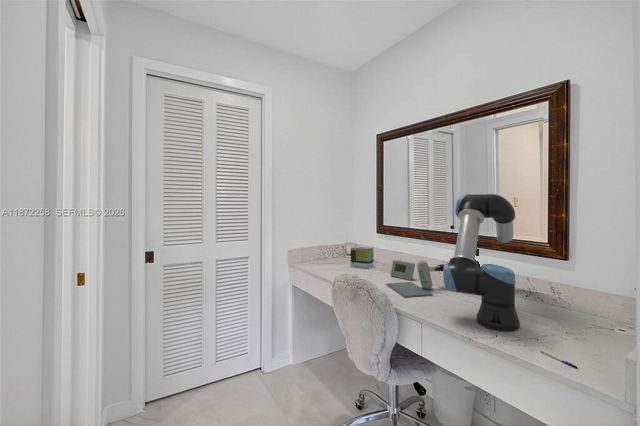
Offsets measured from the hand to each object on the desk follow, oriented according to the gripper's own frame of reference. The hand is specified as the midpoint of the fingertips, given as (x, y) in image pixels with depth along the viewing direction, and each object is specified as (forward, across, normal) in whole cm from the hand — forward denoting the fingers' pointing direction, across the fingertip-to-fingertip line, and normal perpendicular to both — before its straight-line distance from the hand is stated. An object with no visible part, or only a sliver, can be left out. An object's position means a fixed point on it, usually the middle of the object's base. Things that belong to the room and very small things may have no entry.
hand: (428, 269), depth 171 cm
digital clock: (+5, +24, -11) cm, 27 cm away
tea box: (+20, +62, -11) cm, 66 cm away
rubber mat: (+13, -1, -11) cm, 17 cm away
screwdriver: (+1, -78, -12) cm, 79 cm away
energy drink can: (+1, -1, -10) cm, 11 cm away
